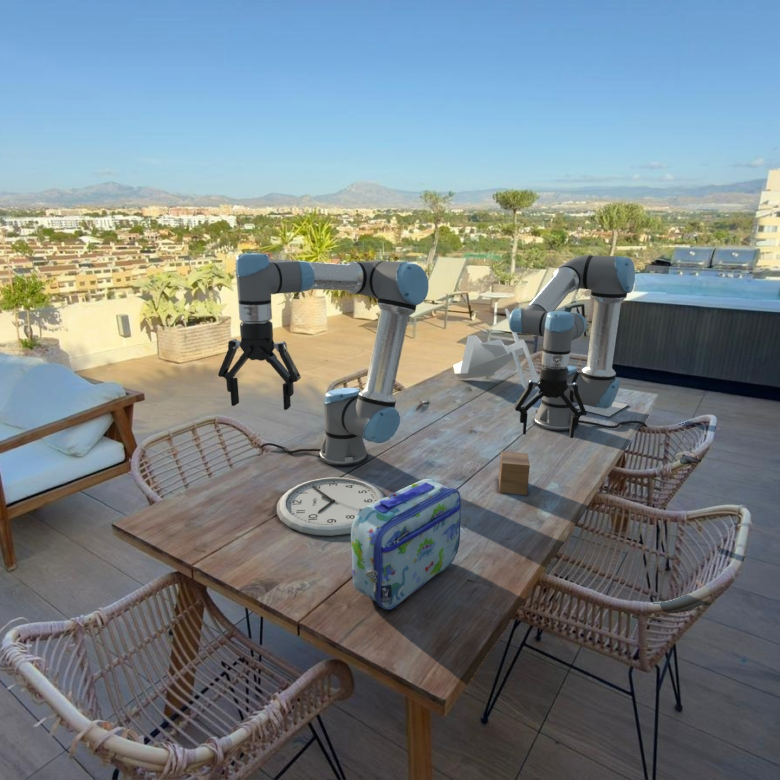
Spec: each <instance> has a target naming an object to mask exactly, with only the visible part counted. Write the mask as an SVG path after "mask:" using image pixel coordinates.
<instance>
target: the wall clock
mask: <svg viewBox="0 0 780 780" xmlns="http://www.w3.org/2000/svg"><path fill="white" fill-rule="evenodd" d="M385 497H386V496H385V494H384V493H383V492H382V491H381V490H380V489H379V488H377V487H376V486H374V485H372V484H371V483H369V482H365V481H362V480H359V479H355V478H349V477H338V476H337V477H335V476H333V477H332V476H331V477H322V478H317V479H312V480H307V481H305V482H302V483H299V484H297V485H295V486H293V487H292V488H290V489H288V490H287V491H286V492H285V493H284V494H283V495H281V496H280V498H279V499H278V502H277V503H276V515H277V517H278V518H279V520H280V521H281V522H282V523H283V524H285V525H286V526H287V527H288V528H290V529H293V530H295V531H297V532H299V533H303V534H308V535H312V536H327V537H328V536H329V537H331V536H332V537H333V536H342V535H350V534H351V529H352V524H353V521H354V519H355V517H356V516H357V514H358V513H359V512H360V511H361V510H362V509H364V508H366V507H367V506H369V505H371V504H374V503H375V502H377V501H379V500H381V499H383V498H385Z"/></svg>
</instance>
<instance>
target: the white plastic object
mask: <svg viewBox="0 0 780 780" xmlns="http://www.w3.org/2000/svg"><path fill="white" fill-rule="evenodd" d="M504 312H505V315H506V318H507V322H508V323H509V318H510V315H511V312H510V311H509V309H508V307H506V308H504ZM511 334H512V338H513V340H514V342H513V343H511V344H508V345H507V344H505V343H504V342H503V340H502V339H501V338H498V339H493V340H490V341H485V342H482V340H481V339H480V338H479V336H477V335H476V334H467V338H466V343H465V348H464V352H463V356H462V360H461V361H459V362H458V363H454V364H453V365H452V367H453V372H454V375H455V376H456V377H457V379H458V380H465V379H466V380H467V379H475V378H482V377H483V378H486V379H488V378H491V377H493V376H495V375H496V372H498V371H499V370H501V369H502V368H503V367H505V366H506V365H508V364H509V363H511V362H512V361H514V364H515V367H516V370H517V374H518V377H519V380H520V383H521V386H522V387H523V389H524V390H525V389H526V388H527V386H528V382H527V380H526V377H525V374H524V371H523V367H522V364H521V360H520V358H519V356H522V355H525V359H526V361H527V365H528V368H529V371H530V374H531V377H532V381H534V382H539V380H540V379H539V378H538V375H537V372H536V368H535V366H534V363H533V360H532V356H531V353H530V350H529V347H528V344H527V342H526V341H525V339H521V340H520V339H519V335H518V333H516V332H512V331H511ZM535 388H536V389H537V390H540V389H539V388H538V386H536V387H535Z"/></svg>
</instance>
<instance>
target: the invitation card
mask: <svg viewBox="0 0 780 780" xmlns="http://www.w3.org/2000/svg"><path fill="white" fill-rule="evenodd" d="M628 406H629V404H627V403H623V402H618V401H614V402H613V404H612V405H611V406H610V407H609V408H607V409H604V408H595V407H592V406H587V405H584V408H585V410H586V412H587V413H593V414H596V415H600V416H604V417H608V418H609V417H611V416H613V415H614V414H616V413H617V412H619V411H621V410H623V409H624V408H626V407H628ZM575 408H576V409H577V410H580V408H579V405H578V404H577V405H575Z"/></svg>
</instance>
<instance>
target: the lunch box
mask: <svg viewBox="0 0 780 780" xmlns="http://www.w3.org/2000/svg"><path fill="white" fill-rule="evenodd" d="M461 499H462V498H461V493H460V491H459V490H458V489H457V488H454V487H451V488H449V487H447V486H446V485H444V484H441V483H440V482H437V481H436V480H434V479H431V478H424V479H421V480H418V481H416V482H414V483H412V484H410V485H408V486H405V487H404V488H401V489H399V490H397V491H395V492H393V493H392V494H389V495H387V496H385V498H383V499H381V500H379V501H377V502H375V503H374V504H371V505H369V506H367V507H366V508H364V509H362V510H361V511H360V512H359V513H358V514H357V516H356V517H355V519H354V521H353V524H352V529H351V533H350V547H351V548H350V552H351V576H352V584H353V588H354V590H356V591H357V592H359V593H360V594H363V595H365V596H367V597H368V598H369V599H371V600H372V601H374V602H376V604H377V606H378V607H379V608H382V609H384V610H386V611H387V610H388V611H390V610H393V609H394V608H396V607H397V606H398V605H400V604H401V603H402V602H403V601H405V600H406V599H407V598H408V597H409V596H411V595H412V594H413V593H415V592H417V590H419V589H420V588H422V587H423V586H424V585H425V584H426V583H428V581H430V580H431V579H432V578H434V577H435V576H438V574H440V573H441V572H443V571H445V570H446V569H447V568H448V567H449V566H451V564H452V563H453V562H454V560H455V558H456V556H457V554H458V551H459V548H460V541H461V522H462V521H461V519H462V515H461V513H462V512H461V510H462V509H461V508H462V506H461V505H462V504H461V503H462V502H461Z"/></svg>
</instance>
